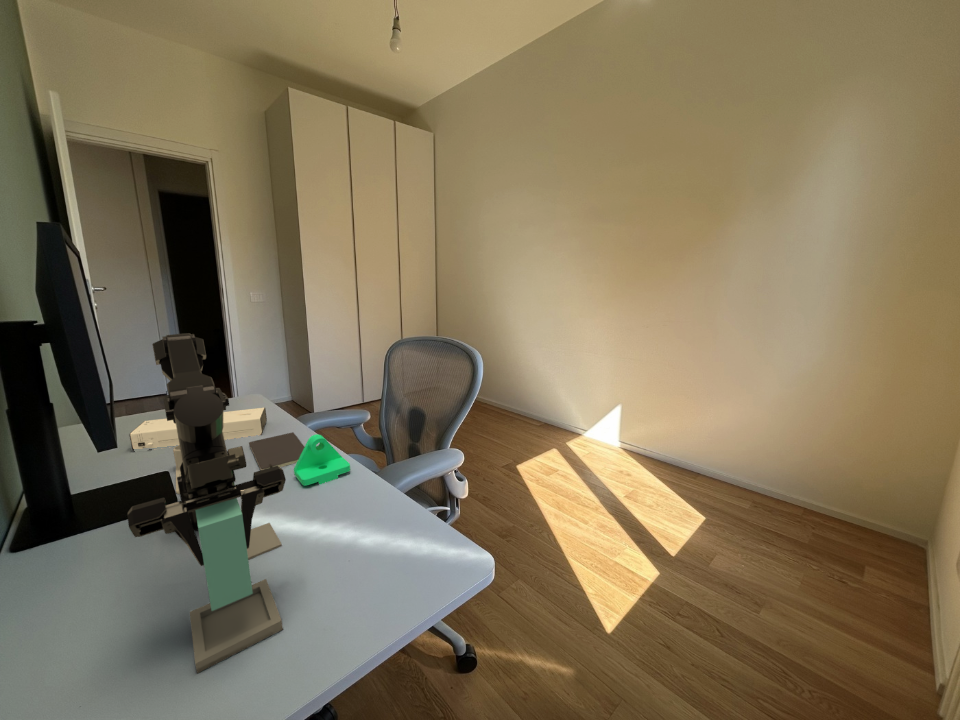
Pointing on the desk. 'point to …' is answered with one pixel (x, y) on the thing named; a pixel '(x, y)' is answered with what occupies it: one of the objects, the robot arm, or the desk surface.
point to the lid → (262, 541)
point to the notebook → (277, 450)
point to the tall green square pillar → (224, 552)
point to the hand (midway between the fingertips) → (225, 556)
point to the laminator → (166, 433)
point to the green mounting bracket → (319, 462)
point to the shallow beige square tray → (233, 626)
